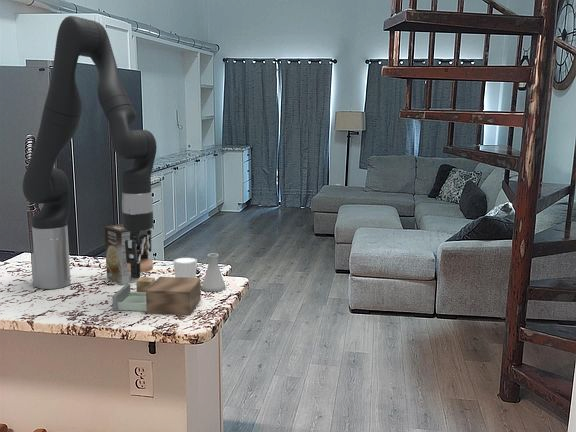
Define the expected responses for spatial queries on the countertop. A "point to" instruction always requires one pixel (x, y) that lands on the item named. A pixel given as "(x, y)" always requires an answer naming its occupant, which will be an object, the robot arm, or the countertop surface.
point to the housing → (173, 296)
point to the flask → (213, 275)
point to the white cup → (185, 267)
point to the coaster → (143, 265)
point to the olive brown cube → (144, 283)
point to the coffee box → (117, 254)
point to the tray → (129, 300)
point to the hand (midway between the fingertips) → (140, 273)
